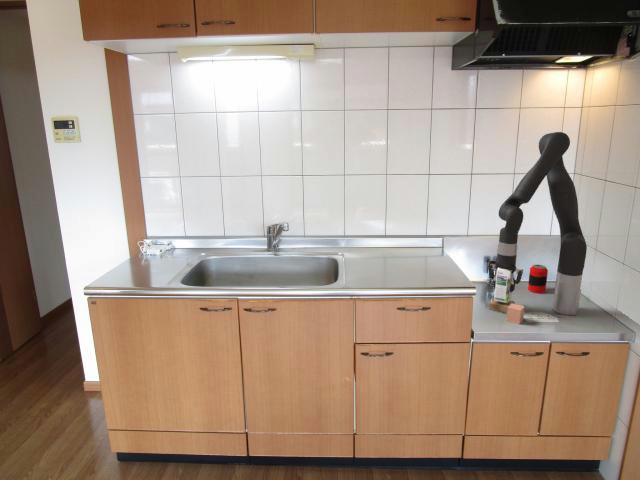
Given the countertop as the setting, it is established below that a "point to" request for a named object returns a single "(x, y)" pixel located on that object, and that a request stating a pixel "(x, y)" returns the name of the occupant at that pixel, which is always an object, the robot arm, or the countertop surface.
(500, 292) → the syrup box
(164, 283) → the countertop surface
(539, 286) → the soda can
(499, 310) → the walnut slab
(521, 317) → the terracotta block
